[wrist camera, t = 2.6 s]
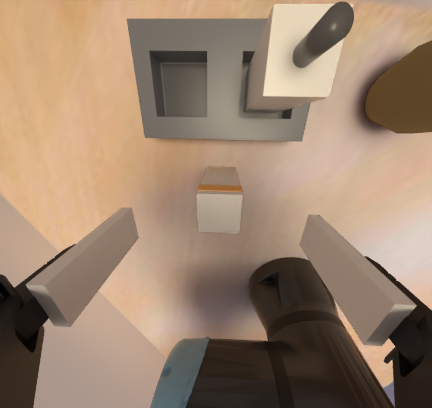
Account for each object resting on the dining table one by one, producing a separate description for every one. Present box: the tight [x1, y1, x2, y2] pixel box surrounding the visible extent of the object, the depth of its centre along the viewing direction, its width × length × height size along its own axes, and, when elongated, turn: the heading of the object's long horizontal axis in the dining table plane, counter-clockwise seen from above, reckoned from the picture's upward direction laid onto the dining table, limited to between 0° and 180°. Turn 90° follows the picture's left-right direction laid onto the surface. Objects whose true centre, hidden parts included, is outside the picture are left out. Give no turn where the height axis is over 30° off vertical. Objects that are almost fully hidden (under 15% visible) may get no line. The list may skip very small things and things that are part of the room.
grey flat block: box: [127, 19, 310, 141], centre depth 18 cm, size 10×18×4 cm, turn 89°
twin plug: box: [244, 2, 354, 113], centre depth 13 cm, size 4×4×14 cm
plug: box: [197, 167, 243, 234], centre depth 20 cm, size 4×4×11 cm
